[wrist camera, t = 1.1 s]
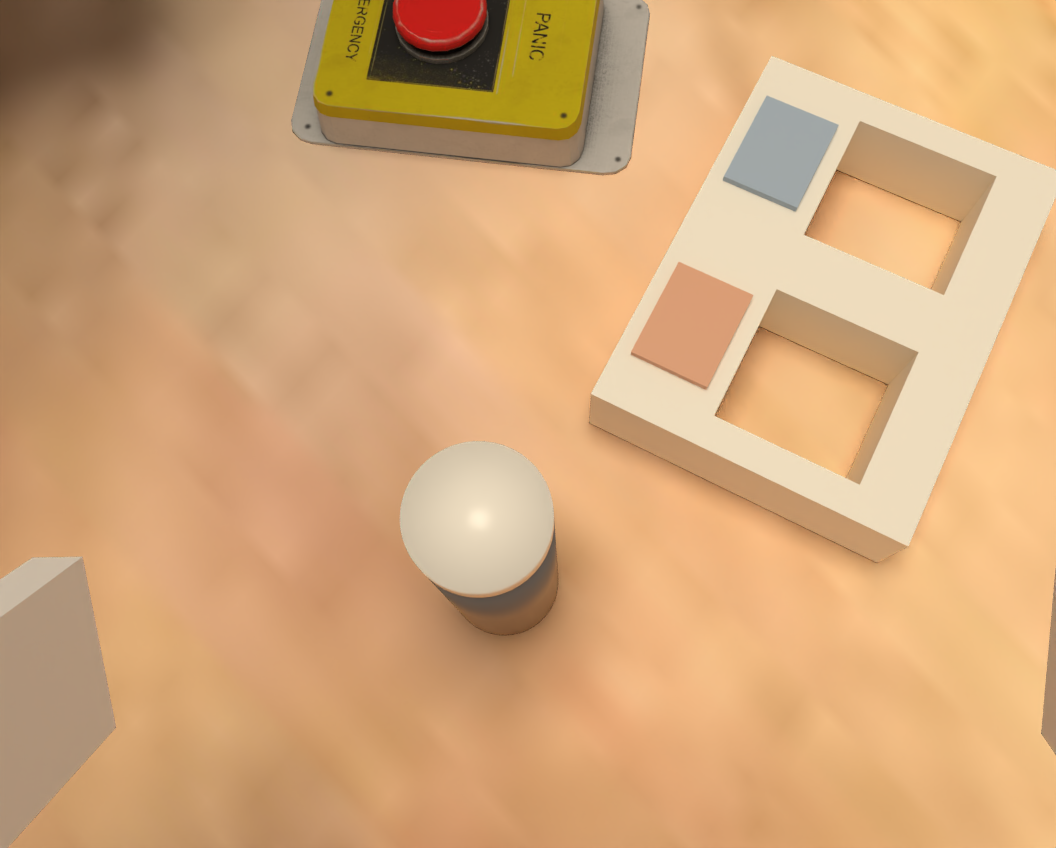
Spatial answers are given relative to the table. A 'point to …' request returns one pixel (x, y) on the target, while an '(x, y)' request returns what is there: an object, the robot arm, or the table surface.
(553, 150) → the emergency button
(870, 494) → the socket block
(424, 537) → the capped grey bottle
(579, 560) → the table surface
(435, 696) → the table surface
